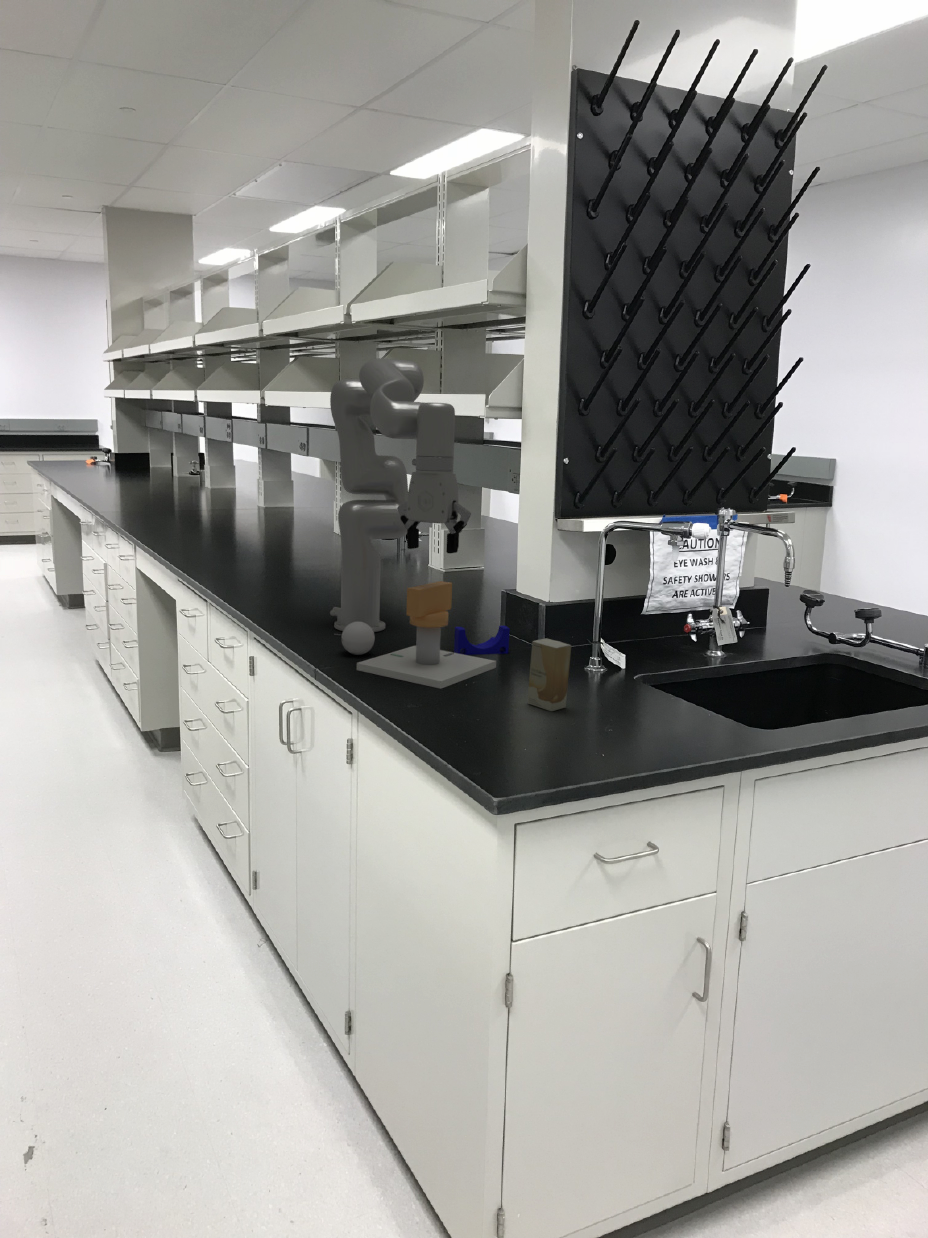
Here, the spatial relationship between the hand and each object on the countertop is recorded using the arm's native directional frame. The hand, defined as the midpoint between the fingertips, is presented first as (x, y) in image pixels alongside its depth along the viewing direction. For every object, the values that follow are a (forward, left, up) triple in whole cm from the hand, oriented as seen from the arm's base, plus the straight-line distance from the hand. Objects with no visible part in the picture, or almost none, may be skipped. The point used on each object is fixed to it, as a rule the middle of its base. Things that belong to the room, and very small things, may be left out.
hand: (432, 550), depth 191 cm
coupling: (0, 0, -15) cm, 15 cm away
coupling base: (0, 0, -25) cm, 25 cm away
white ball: (-20, 0, -25) cm, 33 cm away
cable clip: (0, +21, -26) cm, 33 cm away
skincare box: (+32, -7, -25) cm, 41 cm away
